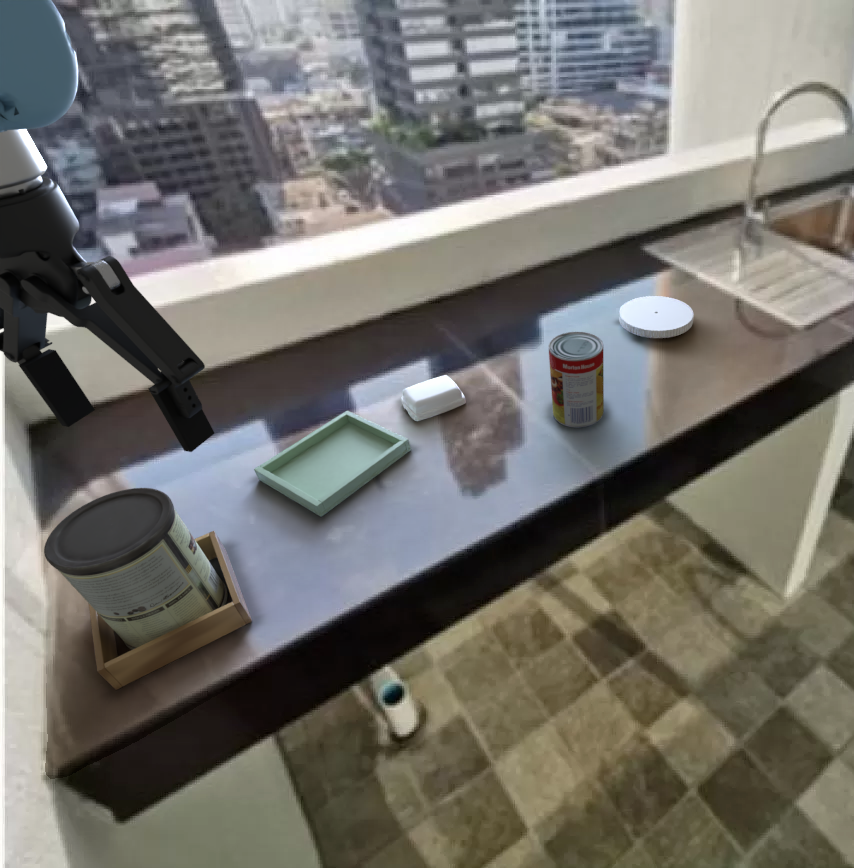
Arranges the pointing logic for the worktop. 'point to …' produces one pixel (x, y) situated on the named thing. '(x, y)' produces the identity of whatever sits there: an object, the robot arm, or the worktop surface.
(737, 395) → the worktop surface
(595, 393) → the canned food
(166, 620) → the coffee can
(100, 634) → the can stand
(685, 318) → the plastic lid
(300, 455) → the tray
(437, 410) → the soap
